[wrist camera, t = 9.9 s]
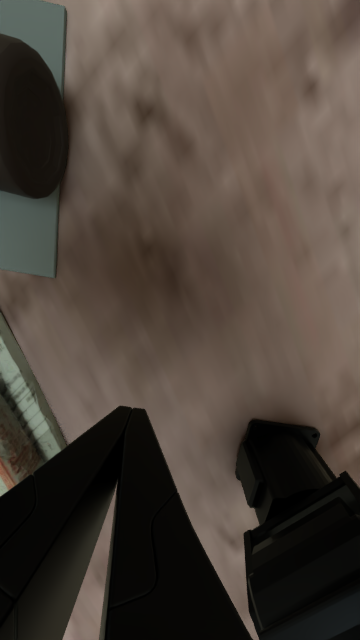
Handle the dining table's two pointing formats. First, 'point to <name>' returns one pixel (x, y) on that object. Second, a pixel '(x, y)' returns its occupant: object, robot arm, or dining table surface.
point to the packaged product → (22, 416)
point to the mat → (42, 214)
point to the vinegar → (30, 123)
